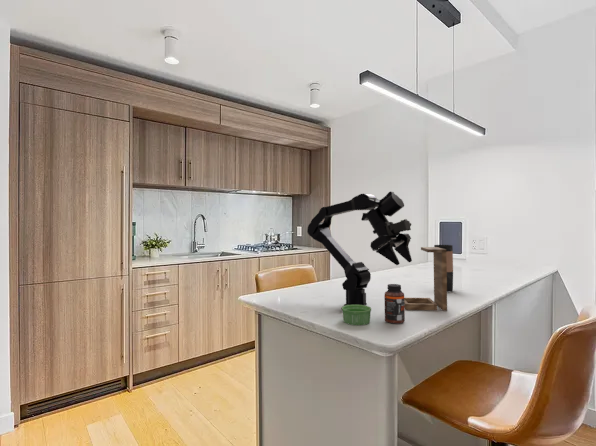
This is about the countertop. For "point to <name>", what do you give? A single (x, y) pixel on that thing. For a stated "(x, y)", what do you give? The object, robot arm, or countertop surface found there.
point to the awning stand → (439, 284)
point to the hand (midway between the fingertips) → (404, 263)
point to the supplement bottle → (394, 304)
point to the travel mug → (448, 265)
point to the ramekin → (356, 314)
